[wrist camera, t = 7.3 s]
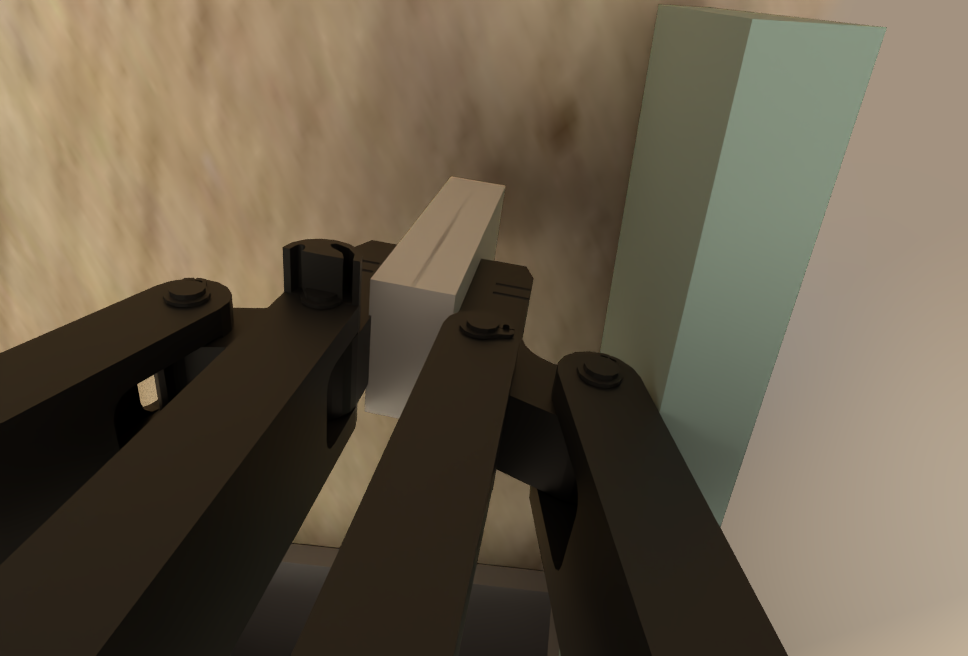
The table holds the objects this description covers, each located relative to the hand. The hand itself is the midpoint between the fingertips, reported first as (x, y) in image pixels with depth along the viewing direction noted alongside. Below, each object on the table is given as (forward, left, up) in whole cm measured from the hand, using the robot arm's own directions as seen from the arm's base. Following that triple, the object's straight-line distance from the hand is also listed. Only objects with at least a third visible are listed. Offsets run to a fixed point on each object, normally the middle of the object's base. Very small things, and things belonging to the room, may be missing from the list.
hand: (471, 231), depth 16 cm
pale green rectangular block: (-5, -5, -2) cm, 7 cm away
